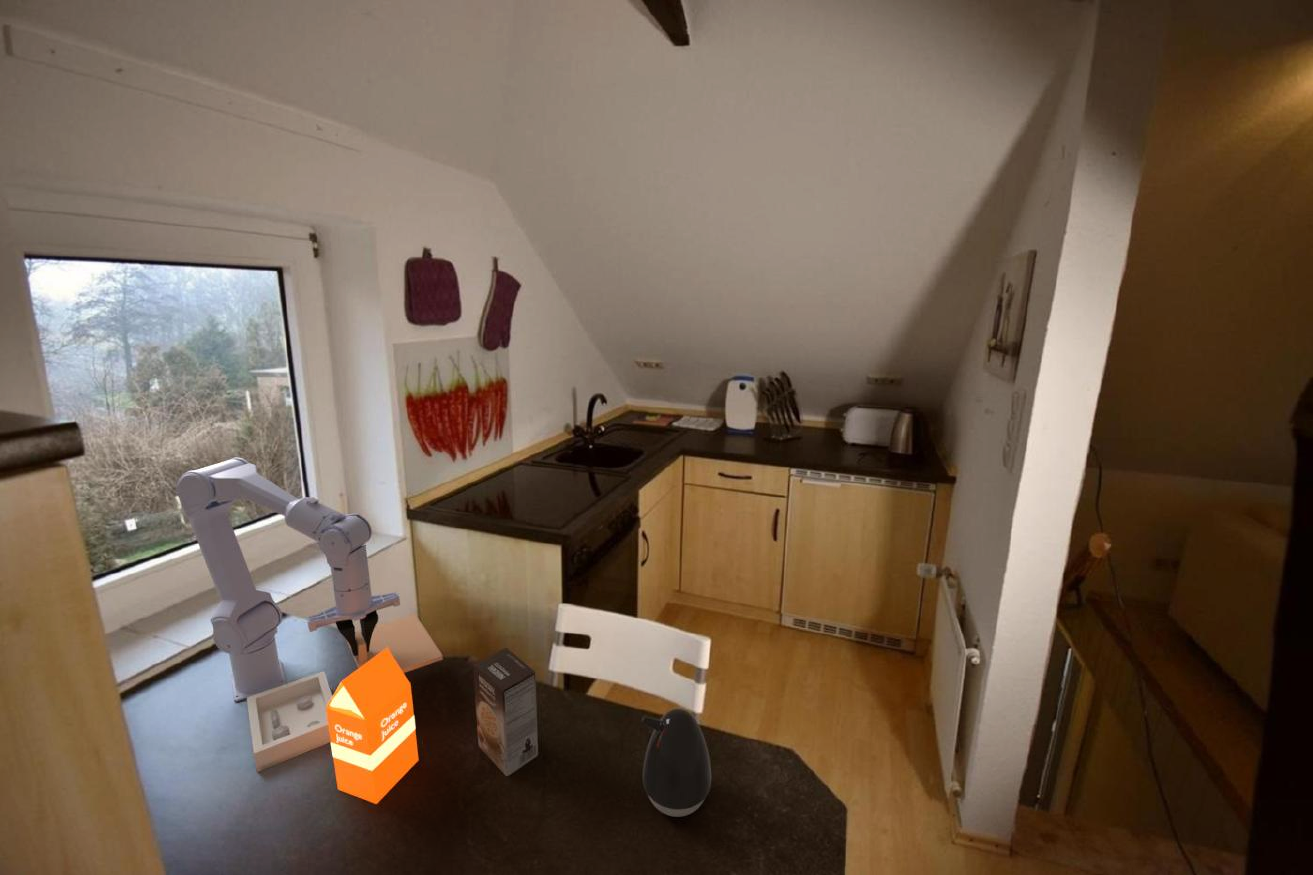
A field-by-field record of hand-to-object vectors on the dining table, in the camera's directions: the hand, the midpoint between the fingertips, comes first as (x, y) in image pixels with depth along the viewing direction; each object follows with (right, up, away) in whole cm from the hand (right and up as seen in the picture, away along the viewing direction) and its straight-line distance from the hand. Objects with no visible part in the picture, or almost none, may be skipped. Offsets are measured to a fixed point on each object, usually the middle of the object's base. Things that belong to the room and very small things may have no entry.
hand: (360, 651), depth 102 cm
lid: (+4, -1, +4) cm, 6 cm away
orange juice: (+10, -14, -14) cm, 23 cm away
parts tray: (-9, -11, -4) cm, 15 cm away
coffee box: (+30, -13, -9) cm, 34 cm away
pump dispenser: (+57, -16, -18) cm, 62 cm away
